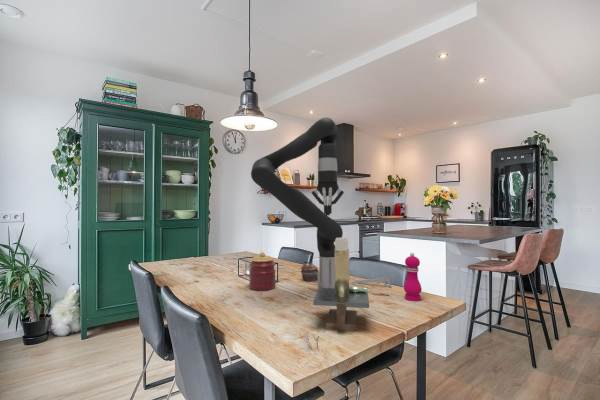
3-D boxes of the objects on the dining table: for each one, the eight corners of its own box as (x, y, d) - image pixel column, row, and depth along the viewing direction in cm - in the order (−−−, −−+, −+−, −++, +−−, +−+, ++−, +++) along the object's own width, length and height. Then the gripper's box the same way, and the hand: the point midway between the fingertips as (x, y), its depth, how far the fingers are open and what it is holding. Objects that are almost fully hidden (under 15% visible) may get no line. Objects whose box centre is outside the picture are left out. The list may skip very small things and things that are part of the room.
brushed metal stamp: (313, 305, 103) (313, 240, 103) (319, 291, 119) (319, 236, 119) (369, 308, 100) (368, 241, 100) (367, 294, 115) (367, 236, 116)
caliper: (391, 288, 154) (390, 275, 154) (390, 288, 153) (390, 275, 153) (352, 282, 165) (352, 270, 165) (351, 283, 164) (351, 271, 164)
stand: (324, 332, 100) (324, 302, 100) (330, 311, 120) (330, 287, 120) (356, 334, 98) (356, 304, 99) (356, 313, 118) (356, 288, 118)
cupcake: (307, 283, 163) (307, 264, 164) (298, 279, 172) (297, 261, 172) (322, 280, 169) (322, 262, 169) (312, 277, 177) (312, 259, 177)
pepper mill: (401, 296, 139) (400, 251, 139) (417, 296, 139) (416, 251, 139) (408, 301, 131) (407, 254, 132) (424, 301, 132) (424, 253, 132)
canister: (280, 285, 158) (280, 251, 159) (266, 292, 147) (266, 254, 147) (258, 283, 164) (258, 249, 164) (243, 289, 152) (243, 253, 153)
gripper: (309, 170, 119) (309, 215, 119) (344, 169, 116) (344, 215, 116) (312, 172, 126) (312, 214, 126) (345, 171, 124) (345, 214, 123)
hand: (327, 215), depth 121 cm, fingers closed
